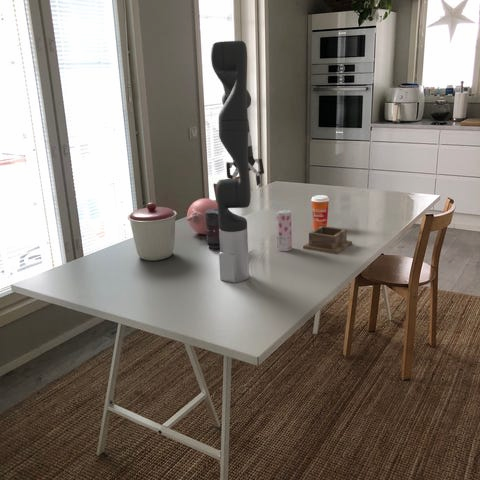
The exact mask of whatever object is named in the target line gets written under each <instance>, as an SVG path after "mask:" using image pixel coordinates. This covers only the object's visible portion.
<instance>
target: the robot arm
mask: <svg viewBox="0 0 480 480" xmlns="http://www.w3.org/2000/svg"><path fill="white" fill-rule="evenodd" d="M210 63H211V66H212V69H213V72H214V73H215V75H216V76H217V78H218V80H219V81H220V82H221V85H222V86H223V91H224V93H223V95H222V97H221V101H222V105H223V106H222V108H221V109H220V111H219V114H218V138H219V141H220V142H221V143H222V145H223V147H224V149H225V151H226V152H227V153H228V154H229V155H230V157H231V159H232V161H231V162H229V161H226V164H225V166H226V167H225V168H226V177H227V178H226V179H219V180H218V181H217V183H216V186H215V195H216V196H215V197H216V202H217V206H218V217H219V236H220V250H219V252H218V261H219V277H220V278H219V280H221V281H225V282H229V283H233V284H236V283H239V282H243V281H246V280H248V279H249V278H250V267H249V263H250V262H249V242H248V241H249V239H248V220H247V219H246V218H245V217H243V216H241V215H238V214H236V213H234V212H232V211H230V209H244V208H248V207H249V206H250V204H251V197H252V196H251V178H250V171H252V173H254V174H255V182H256V186H257V187H259V186H260V184H261V177H260V176H261V175H264V174H265V170H264V169H265V168H264V164H263V159H262V158H261V157H258V158H254V152H253V145H252V144H253V141H252V136H251V132H250V131H251V130H250V123H249V116H248V115H249V114H248V109H249V108H250V106H251V105H252V96H251V94H250V92H249V90H248V87H247V86H248V85H247V84H248V81H247V80H248V48H247V45H246V43H245V42H244V41H243V40H228V41H227V40H226V41H223V40H222V41H217V42H214V43H213V44H212V46H211V48H210ZM255 163H256V164H257V165H258V166H259V171H258V170H257V169H256V168H255V167H254V165H255ZM232 167H235V169H234V172H233V173H232V174H231V169H232ZM238 175H239V178H237V176H238Z"/></svg>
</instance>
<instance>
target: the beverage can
mask: <svg viewBox="0 0 480 480" xmlns="http://www.w3.org/2000/svg"><path fill="white" fill-rule="evenodd" d="M292 228H293V227H292V211H291V210H290V209H289V210H288V209H279V210H277V211H276V250H278V251H280V252H288V251H291V250H292V248H293V242H292V241H293V240H292V239H293V238H292V236H293V235H292V234H293V233H292V231H293V229H292Z"/></svg>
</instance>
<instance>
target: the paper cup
mask: <svg viewBox="0 0 480 480" xmlns="http://www.w3.org/2000/svg"><path fill="white" fill-rule="evenodd" d="M330 201H331V199H330V198H329V196H328V195H322V194H320V195H319V194H318V195H313V196H312V197H311V210H312V222H313V223H312V225H313V230H315V229H317V228H319V227H320V226H326V227H328V217H329V216H328V215H329V203H330Z"/></svg>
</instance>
